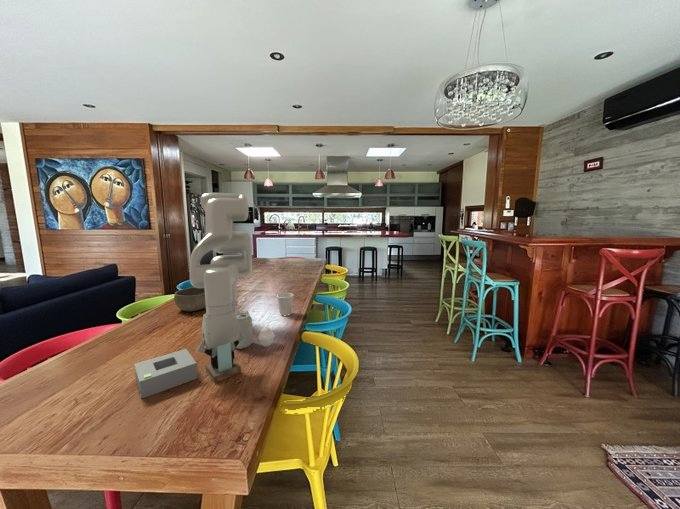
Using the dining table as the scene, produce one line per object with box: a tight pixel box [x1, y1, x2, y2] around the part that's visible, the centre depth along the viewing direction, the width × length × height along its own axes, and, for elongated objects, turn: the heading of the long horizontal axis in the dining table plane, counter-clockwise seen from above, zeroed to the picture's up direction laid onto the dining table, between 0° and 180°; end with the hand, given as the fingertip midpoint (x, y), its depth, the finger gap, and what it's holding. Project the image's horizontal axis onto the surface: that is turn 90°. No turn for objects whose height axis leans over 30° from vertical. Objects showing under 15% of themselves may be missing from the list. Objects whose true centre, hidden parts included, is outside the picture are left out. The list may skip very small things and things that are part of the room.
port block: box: [133, 348, 199, 400], centre depth 82 cm, size 14×12×5 cm
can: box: [236, 313, 254, 350], centre depth 103 cm, size 8×8×12 cm
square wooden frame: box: [205, 358, 242, 384], centre depth 86 cm, size 8×8×2 cm
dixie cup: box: [276, 292, 294, 316], centre depth 136 cm, size 8×8×10 cm
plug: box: [215, 343, 232, 373], centre depth 85 cm, size 4×4×11 cm
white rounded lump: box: [257, 327, 275, 347], centre depth 104 cm, size 6×6×7 cm
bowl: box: [173, 286, 206, 313], centre depth 144 cm, size 17×18×10 cm
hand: (223, 363), depth 85 cm, fingers closed on plug, 4 cm apart
